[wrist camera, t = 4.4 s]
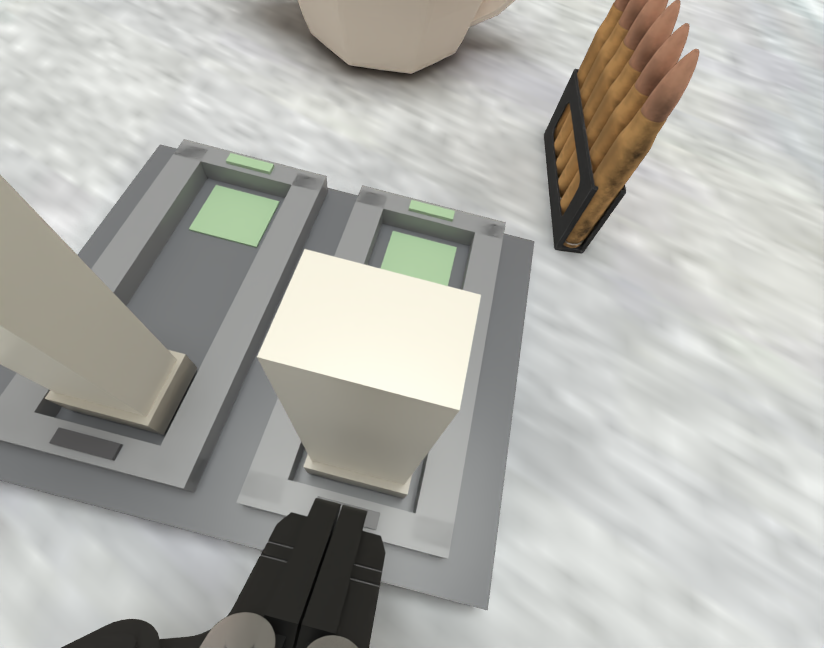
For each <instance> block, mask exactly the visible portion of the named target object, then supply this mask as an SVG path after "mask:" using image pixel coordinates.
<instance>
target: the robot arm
mask: <svg viewBox="0 0 824 648" xmlns="http://www.w3.org/2000/svg"><path fill="white" fill-rule="evenodd" d="M340 507H341V504H339V503H335V502H331V501H328V500H324V499H320V498H315V500H314V502H313V505H312V507H311V509H310V511H309V514H308V516H304V515H300V514H297V513H293V512H291V513H290V514H288V515H287V516H286V517H285V518H283V519H282V520H281V521H280V522H279V523H277V524H276V526H275V528H274V530H273V532H272V534H271V536H270V538H269V540H268V543H267V544H266V545H265V547H264V549H263V551H262V553H261V556H260V557H259V559H258V561H257V563H256V565H255V567H254V568H253V570H252V572H251V574H250V576H249V578H248V580H247V582H246V584H245V586H244V588H243V589H242V591H241V593H240V595H239V597H238V599H237V601H236V603H235V605H234V607H233V608H232V610H231V612H230V613H229V614H228V616H227V617H226V618H224V619H222V620H221V621H220V622H218V623H217V624H216V625H215V626H214V627H213V628H212V629H211V630H209V631H207V632H204V633H202V634H199V635H195V636H190V637H181V638H169V639H159V636H158V633H157V631H156V630H155V628H154V627H153V626H152V625H151V624H149V623H147V622H145V621H142V620H138V619H126V620H120V621H117V622H113V623H111V624H109V625H106V626H104V627H102V628H100V629H98V630H96V631H94V632H92V633H90V634H88V635H86V636H84V637H82V638H80V639H78V640H76V641H74V642H72V643H70V644H68V645H66V646H64V647H62V648H369V644H370V638H371V632H372V627H373V621H374V616H375V610H376V604H377V599H378V593H379V587H380V582H381V576H382V570H383V565H384V559H385V554H386V552H385V548H384V545H383V541H382V538H381V536H380V535H377V534H373V533H369V532H365V531H363V527H364V523H365V519H366V515H367V511H366V510H362V509H358V508H355V507H351V506H347V505H343V506H342V508H341V511H340ZM339 512H340V514H339ZM338 516H339V517H338Z"/></svg>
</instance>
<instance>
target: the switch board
mask: <svg viewBox="0 0 824 648" xmlns="http://www.w3.org/2000/svg"><path fill="white" fill-rule="evenodd" d="M505 224H506V222H502V221H498V220H494V219H490V218H487V217H483V216H479V215H475V214H471V213H467V212H463V211H459V210H456V209H452V208H448V207H444V206H440V205H436V204H432V203H429V202H425V201H421V200H417V199H413V198H409V197H405V196H402V195H398V194H394V193H390V192H386V191H382V190H378V189H374V188H371V187H367V186H363V185H362V187H361V190H360V192H359V195H358V196H357V195H353V194H350V193H346V192H342V191H338V190H334V189H330V188H327V176H324V175H320V174H316V173H313V172H309V171H305V170H301V169H297V168H293V167H289V166H286V165H282V164H278V163H274V162H270V161H266V160H262V159H258V158H255V157H251V156H247V155H243V154H239V153H235V152H231V151H228V150H224V149H220V148H216V147H212V146H208V145H204V144H200V143H197V142H193V141H189V140H185V139H184V140H183V141H182V143H181V144H180V146H179V147H178V148H177V149H176V148H172V147H168V146H164V145H159V147H158V148H157V149H156V151H155V152H154V153H153V155H152V156H151V157H150V159H149V160H148V161H147V163H146V164H145V165H144V167H143V168H142V169H141V171H140V172H139V173H138V175H137V176H136V177H135V179H134V180H133V181H132V183H131V184H130V185H129V187H128V188H127V189H126V191H125V192H124V193H123V195H122V196H121V197H120V199H119V200H118V201H117V203H116V204H115V205H114V207H113V208H112V209H111V211H110V212H109V213H108V215H107V216H106V217H105V219H104V220H103V221H102V223H101V224H100V225H99V227H98V228H97V229H96V231H95V232H94V234H93V235H92V236H91V238H90V239H89V240H88V242H87V243H86V244H85V246H84V247H83V248H82V250H81V251H80V252H79V254H78V256H79V257H80V259H81V260H82V261H83V262H84V263H85V264H86V265H87V266H88V267H89V268H90V269H91V270H92V271H93V272H94V273H95V274H96V275H97V276H98V277H99V278H100V279H101V280H102V282H103V283H104V284H105V285H106V286H107V287H108V288H109V289H110V290H111V291H112V292H113V293H114V294H115V295H116V296H117V297H118V298H119V299H120V300H121V301H122V302H123V303H124V305H125V306H126V307H127V308H128V309H129V310H130V311H131V312H132V313H133V314H134V315H135V316H136V317H137V318H138V319H139V320H140V321H141V322H142V323H143V324H144V325H145V326H146V328H147V329H148V330H149V331H150V332H151V333H152V334H153V335H154V336H155V337H156V338H157V339H158V340H159V341H160V342H161V343H162V344H163V345H164V346H165V347H166V348H167V349H168V350H171V351H175V352H179V353H183V354H186V355H187V356H188V358H189V359H190V360H191V361H192V362H193V363H194V364H195V366H196V367H197V370H196V372H195V374H194V376H193V378H192V380H191V382H190V384H189V386H188V388H187V390H186V392H185V394H184V396H183V398H182V399H181V401H180V403H179V405H178V407H177V409H176V411H175V413H174V415H173V417H172V419H171V421H170V423H169V425H168V427H167V429H166V431H165V433H164V435H162V434H158V433H154V432H150V431H147V430H143V429H139V428H135V427H132V426H128V425H124V424H120V423H116V422H113V421H109V420H105V419H101V418H98V417H94V416H90V415H86V414H82V413H79V412H75V411H71V410H68V409H66V408H63V407H61V406H59V405H57V404H55V403H53V402H51V401H49V400H47V399H45V397H46V396H47V394H48V393H49V391H50V390H49V389H47V388H45V387H43V386H41V385H39V384H37V383H35V382H34V381H32V380H30V379H28V378H26V377H24V376H22V375H20V374H18V373H16V372H14V371H12V370H10V369H8V368H6V367H4V366H2V365H0V480H1V481H4V482H8V483H12V484H16V485H19V486H23V487H27V488H31V489H34V490H38V491H42V492H46V493H49V494H53V495H57V496H61V497H64V498H68V499H72V500H76V501H79V502H83V503H87V504H91V505H94V506H98V507H102V508H106V509H109V510H113V511H117V512H121V513H124V514H128V515H132V516H136V517H139V518H143V519H147V520H151V521H154V522H158V523H162V524H166V525H169V526H173V527H177V528H181V529H184V530H188V531H192V532H196V533H199V534H203V535H207V536H211V537H214V538H218V539H222V540H226V541H229V542H233V543H237V544H241V545H244V546H248V547H252V548H256V549H259V550H263V549H264V547H265V545H266V544H267V543H268V540H269V538H270V536H271V534H272V532H273V530H274V528H275V526H276V524H277V523H279V522H280V521H281V520H282V519H283V518H285V517H286V516H287V515H288V514H290V513H291V512H293V513H297V514H300V515H304V516H308V514H309V511H310V509H311V507H312V505H313V502H314V500H315V498H320V499H324V500H328V501H331V502H335V503H339V504H341V507H340V511H341V508H342V506H343V505H347V506H351V507H355V508H358V509H362V510H366V511H367V515H366V519H365V523H364V527H363V531H365V532H369V533H373V534H377V535H380V536H381V538H382V541H383V545H384V548H385V552H386V554H385V559H384V565H383V570H382V576H381V582H383V583H387V584H391V585H394V586H398V587H402V588H406V589H409V590H413V591H417V592H421V593H424V594H428V595H432V596H436V597H439V598H443V599H447V600H451V601H454V602H458V603H462V604H466V605H469V606H473V607H477V608H481V609H484V610H488V603H489V595H490V587H491V579H492V571H493V563H494V555H495V548H496V540H497V532H498V524H499V516H500V508H501V500H502V492H503V484H504V476H505V469H506V461H507V453H508V445H509V437H510V429H511V421H512V413H513V405H514V397H515V390H516V382H517V374H518V366H519V358H520V350H521V342H522V334H523V326H524V319H525V311H526V303H527V295H528V287H529V279H530V271H531V263H532V255H533V247H534V241H531V240H527V239H523V238H520V237H516V236H512V235H508V234H504V230H505ZM304 249H307V250H311V251H315V252H318V253H322V254H326V255H330V256H334V257H338V258H342V259H345V260H349V261H353V262H357V263H361V264H365V265H368V266H372V267H376V268H380V269H384V270H388V271H391V272H395V273H399V274H403V275H407V276H411V277H415V278H418V279H422V280H426V281H430V282H434V283H438V284H441V285H445V286H449V287H453V288H457V289H461V290H464V291H468V292H472V293H476V294H480V295H481V298H480V304H479V309H478V315H477V320H476V325H475V331H474V336H473V341H472V347H471V352H470V357H469V363H468V368H467V373H466V379H465V384H464V390H463V395H462V400H461V406H460V410H459V412H458V413H457V414H456V416H455V417H454V419H453V420H452V421H451V423H450V424H449V425H448V427H447V428H446V429H445V431H444V432H443V433H442V435H441V436H440V437H439V439H438V440H437V441H436V443H435V444H434V445H433V447H432V448H431V450H430V451H429V452H428V454H427V455H426V456H425V458H424V459H423V460H422V462H421V463H420V464H419V466H418V467H417V468H416V470H415V471H414V472H413V474H412V477H411V482H410V486H409V490H408V495H407V496H406V497H405V498H404V499H403V498H400V497H396V496H392V495H388V494H384V493H381V492H377V491H373V490H369V489H366V488H362V487H358V486H354V485H350V484H347V483H343V482H339V481H335V480H332V479H328V478H324V477H320V476H317V475H313V474H309V473H307V472H306V470H305V469H304V467H303V466H304V463H305V461H306V458H307V455H308V453H307V451H306V449H305V447H304V446H303V444H302V442H301V440H300V438H299V436H298V434H297V432H296V430H295V428H294V427H293V425H292V423H291V421H290V419H289V417H288V415H287V413H286V411H285V409H284V408H283V406H282V404H281V402H280V400H279V398H278V396H277V394H276V392H275V390H274V389H273V387H272V385H271V383H270V381H269V379H268V377H267V375H266V373H265V371H264V369H263V368H262V366H261V364H260V362H259V360H258V358H257V356H258V353H259V351H260V349H261V347H262V344H263V342H264V340H265V338H266V335H267V333H268V331H269V329H270V326H271V324H272V322H273V319H274V317H275V315H276V313H277V310H278V308H279V306H280V304H281V301H282V299H283V297H284V295H285V292H286V290H287V288H288V286H289V283H290V281H291V279H292V276H293V274H294V272H295V270H296V267H297V265H298V263H299V261H300V258H301V256H302V254H303V252H304ZM339 514H340V512H339ZM338 517H339V516H338Z"/></svg>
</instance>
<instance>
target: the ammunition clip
mask: <svg viewBox="0 0 824 648" xmlns="http://www.w3.org/2000/svg"><path fill="white" fill-rule="evenodd" d="M667 3H668V0H616V1H615V2H614V3H613V5H612V7H611V9H610V11H609V13H608V15H607V17H606V18H605V20H604V21H603V23H602V24H601V26H600V27H599V29H598V30H597V32H596V34H595V36H594V39H593V41H592V43H591V45H590V47H589V49H588V51H587V54H586V56H585V58H584V60H583V62H582V64H581V66H580V68H579V69H574V71H573V73H572V75H571V78H570V80H569V82H568V84H567V86H566V88H565V90H564V93H563V95H562V97H561V99H560V101H559V103H558V105H557V108H556V110H555V112H554V114H553V116H552V118H551V121H550V123H549V125H548V127H547V129H546V131H545V133H544V141H545V152H546V163H547V174H548V184H549V195H550V206H551V217H552V227H553V238H554V249H557V250H564V251H572V252H579V253H583V252H584V251H585V249H586V248H587V247H588V245H589V244H590V242H591V241H592V240H593V238H594V237H595V235H596V234H597V233H598V231H599V230H600V228H601V227H602V226H603V224H604V223H605V221H606V220H607V219H608V217H609V216H610V214H611V213H612V212H613V210H614V209H615V207H616V206H617V205H618V203H619V202H620V201H621V199H622V198H623V196H624V195H625V194H626V188H625V184H626V182H627V181H628V179H629V178H630V177H631V175H632V174H633V172H634V171H635V170H636V168H637V167H638V166H639V164H640V163H641V161H642V160H643V159H644V157H645V156H646V155H647V153H648V152H649V150H650V149H651V146H652V144H653V142H654V140H655V138H656V136H657V134H658V132H659V131H660V129H661V128H662V126H663V125H664V123H665V122H666V120H667V118H668V116H669V115H670V113H671V112H672V110H673V109H674V108H675V106H676V105H677V103H678V101H679V100H680V98H681V96H682V94H683V93H684V91H685V89H686V87H687V85H688V83H689V81H690V79H691V77H692V74H693V72H694V70H695V67H696V64H697V61H698V56H699V50H698V49H694V50H692V51H691V52H690V53H688V54H687V55H686V56H684V57H683V58H682V59H681V60H680V61H679V62H678V60H679V58H680V55H681V53H682V51H683V48H684V45H685V43H686V40H687V36H688V32H689V24H688V23H685V24H684V25H682V26H681V27H680V28H678V29H677V30H676V31H675V32H674V33H673V34H672V31H673V29H674V26H675V23H676V20H677V17H678V13H679V9H680V0H676V1H674V2H673V3H672V4H671V5H670V6H668V7H667V8H666V6H667ZM671 34H672V35H671ZM677 62H678V63H677Z"/></svg>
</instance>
